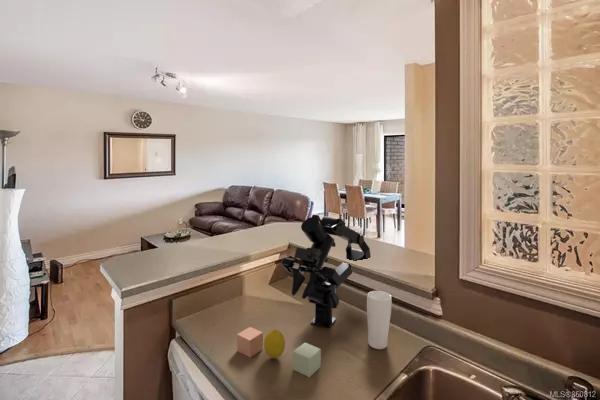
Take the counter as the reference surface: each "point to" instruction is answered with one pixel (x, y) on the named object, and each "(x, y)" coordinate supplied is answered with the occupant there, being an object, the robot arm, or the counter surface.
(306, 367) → the sage block
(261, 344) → the terracotta block
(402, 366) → the counter surface
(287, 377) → the counter surface
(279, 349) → the lemon
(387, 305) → the drinking glass
